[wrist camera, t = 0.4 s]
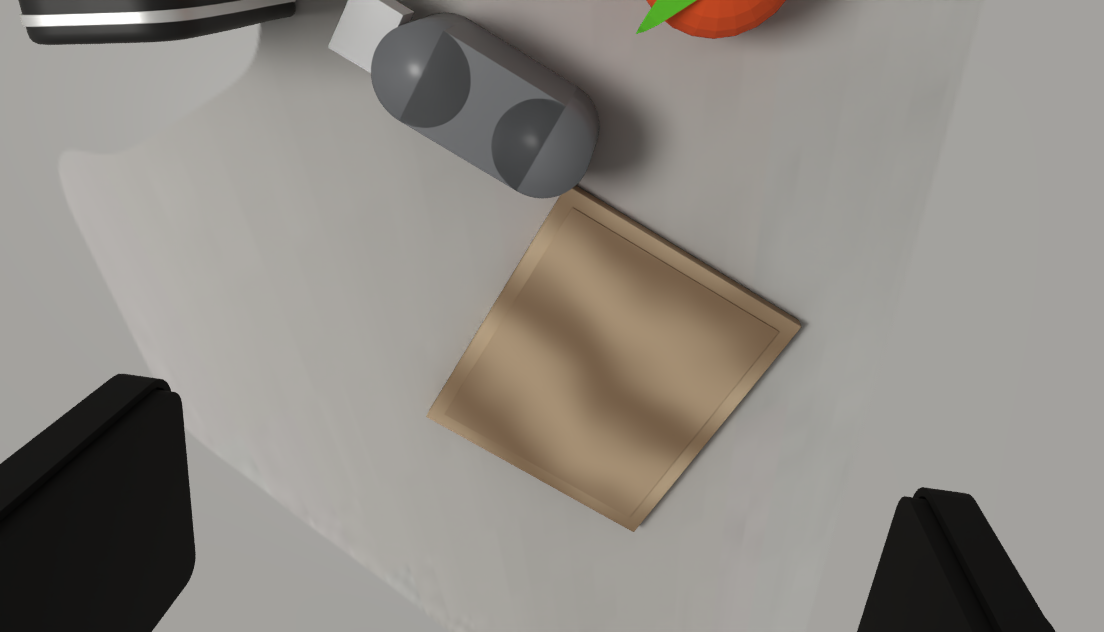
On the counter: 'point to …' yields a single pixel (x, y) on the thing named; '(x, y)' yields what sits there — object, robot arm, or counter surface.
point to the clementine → (710, 16)
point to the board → (609, 360)
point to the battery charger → (142, 19)
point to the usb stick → (473, 94)
